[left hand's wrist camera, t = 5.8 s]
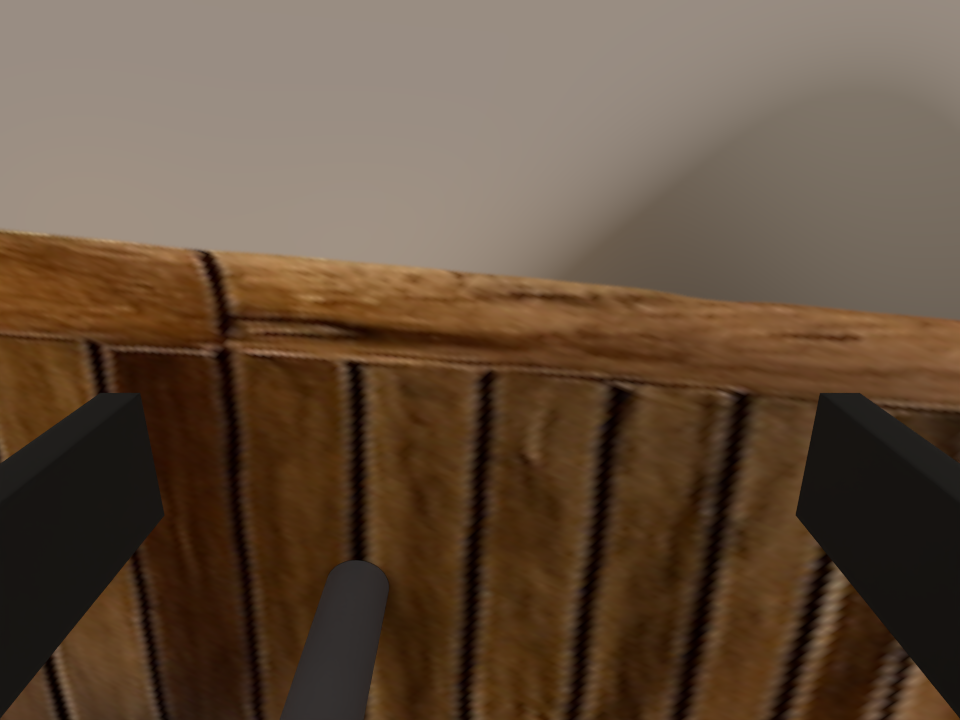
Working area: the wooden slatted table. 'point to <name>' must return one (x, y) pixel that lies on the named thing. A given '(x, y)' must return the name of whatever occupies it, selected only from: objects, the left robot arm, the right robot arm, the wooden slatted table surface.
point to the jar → (340, 646)
